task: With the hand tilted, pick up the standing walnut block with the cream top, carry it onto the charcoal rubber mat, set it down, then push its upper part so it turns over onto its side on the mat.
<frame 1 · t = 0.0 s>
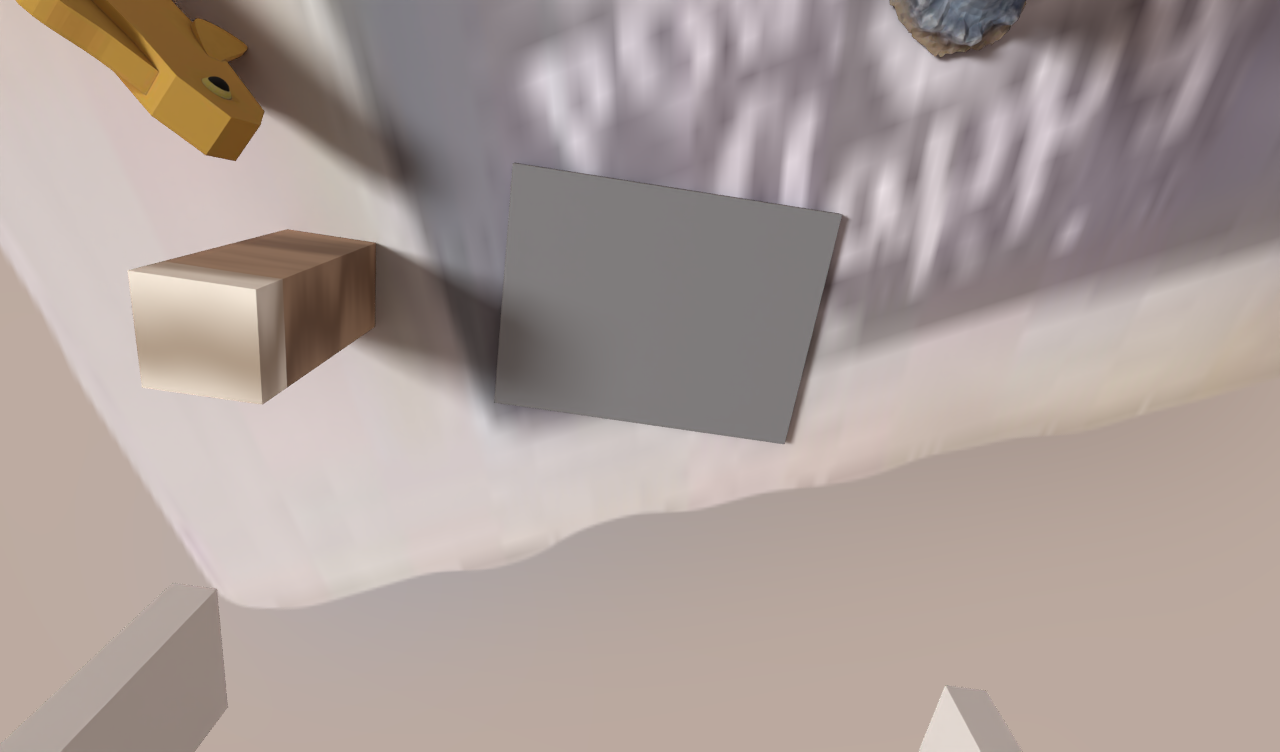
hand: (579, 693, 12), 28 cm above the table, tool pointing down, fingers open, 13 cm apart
charcoal rubber mat: (658, 311, 38), on the table
walnut block: (332, 279, 38), on the table
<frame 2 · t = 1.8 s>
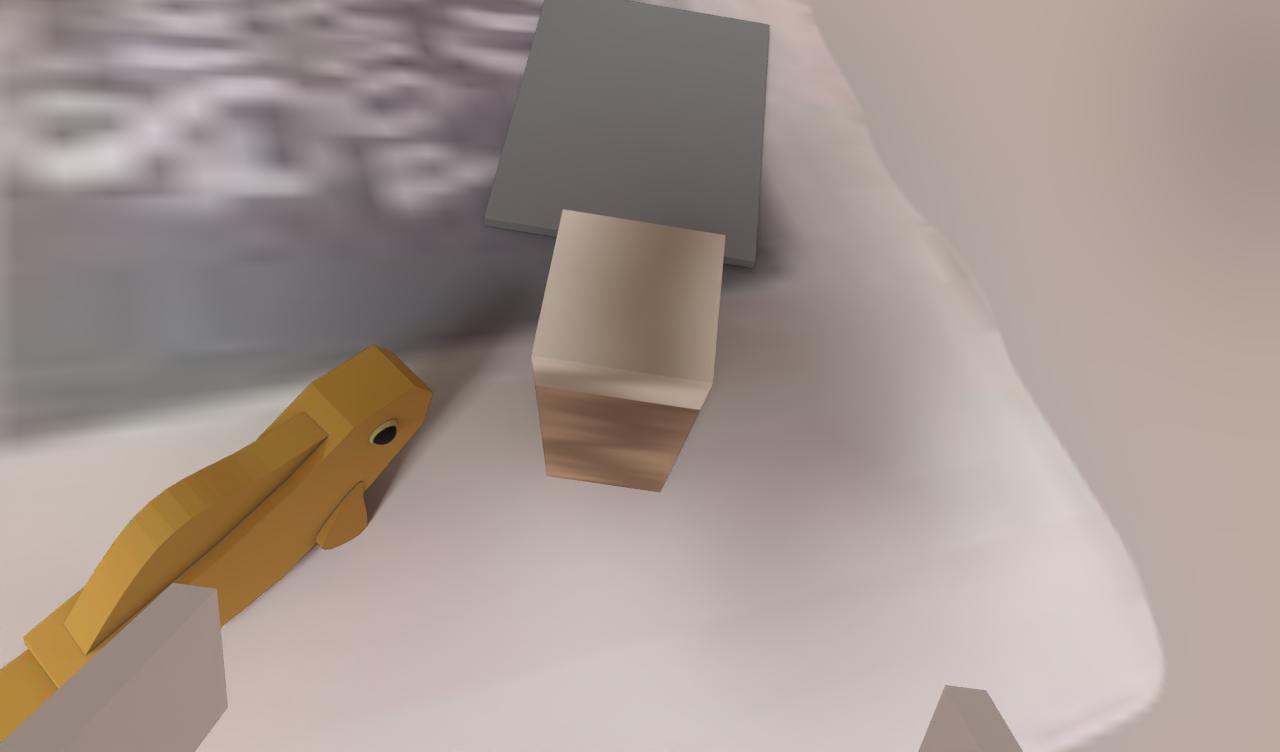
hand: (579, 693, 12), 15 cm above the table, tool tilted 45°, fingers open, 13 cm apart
charcoal rubber mat: (640, 119, 38), on the table
decorative fish: (217, 621, 25), on the table
walnut block: (611, 430, 30), on the table
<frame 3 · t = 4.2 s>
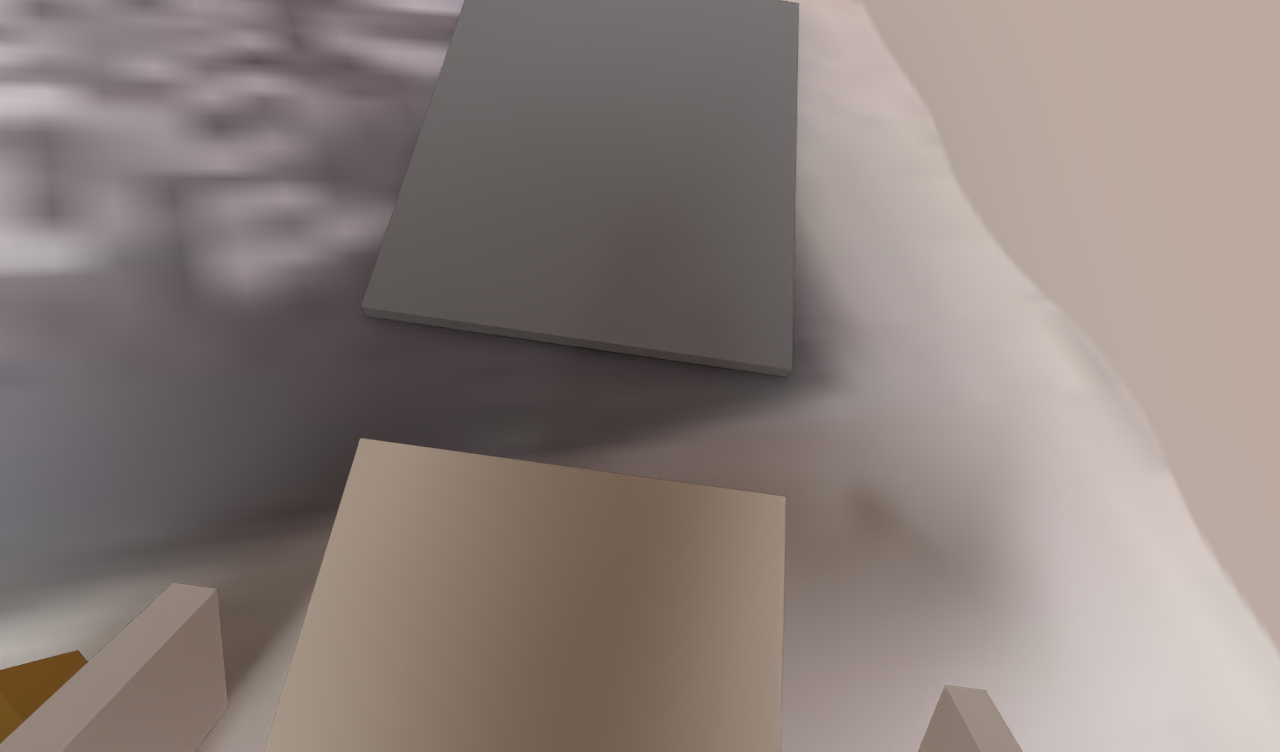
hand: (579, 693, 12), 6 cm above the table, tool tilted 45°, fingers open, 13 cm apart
charcoal rubber mat: (614, 142, 25), on the table
walnut block: (559, 682, 17), on the table
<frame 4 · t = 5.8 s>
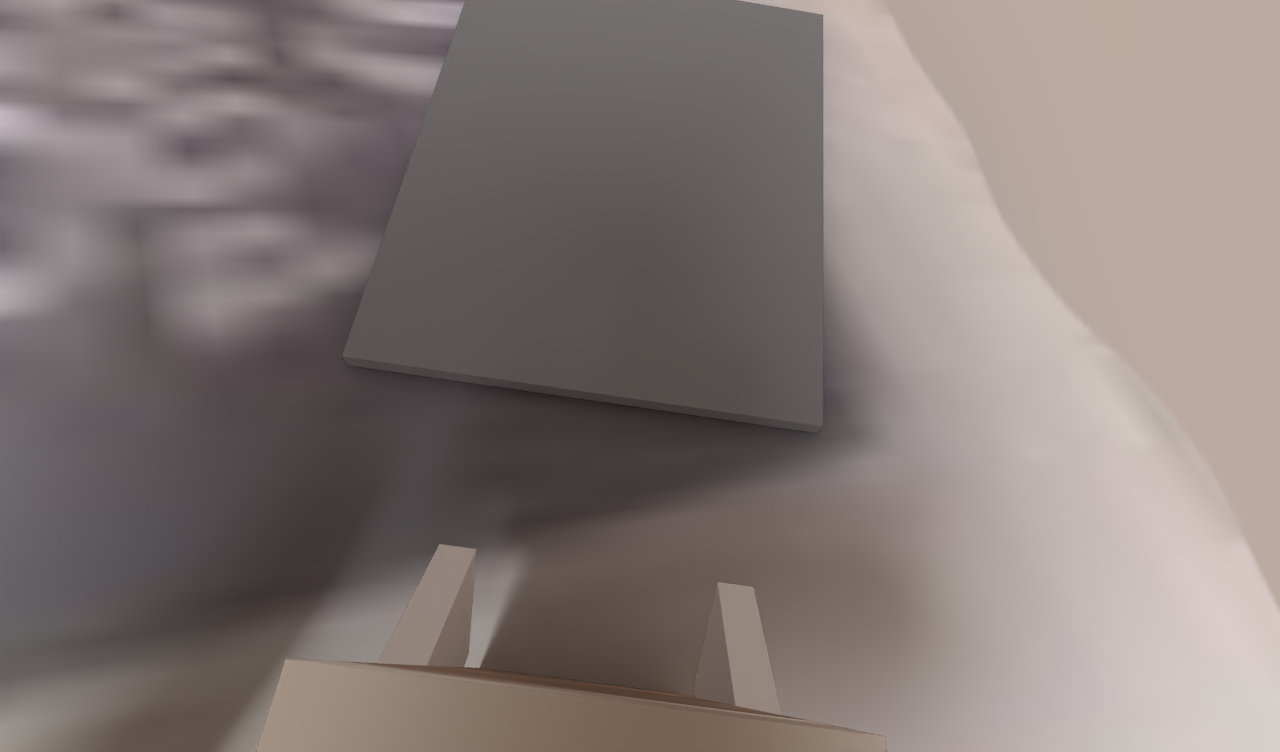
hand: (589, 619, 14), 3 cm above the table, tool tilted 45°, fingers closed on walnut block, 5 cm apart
charcoal rubber mat: (623, 167, 23), on the table
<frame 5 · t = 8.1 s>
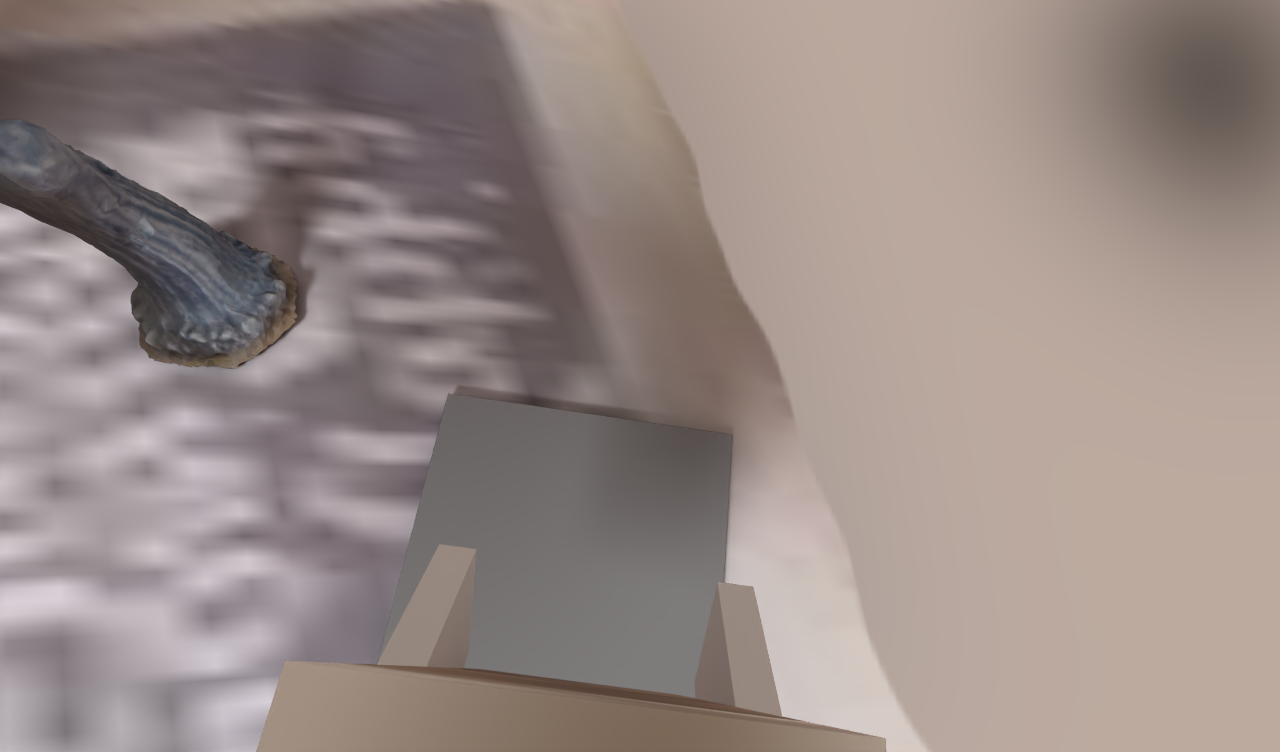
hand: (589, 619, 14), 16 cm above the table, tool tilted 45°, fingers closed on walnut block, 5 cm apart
charcoal rubber mat: (560, 608, 29), on the table
antler: (181, 322, 33), on the table
when the fingers open (5 cm above the table, at t = 10.3 s): walnut block stays where it is, resting on charcoal rubber mat.
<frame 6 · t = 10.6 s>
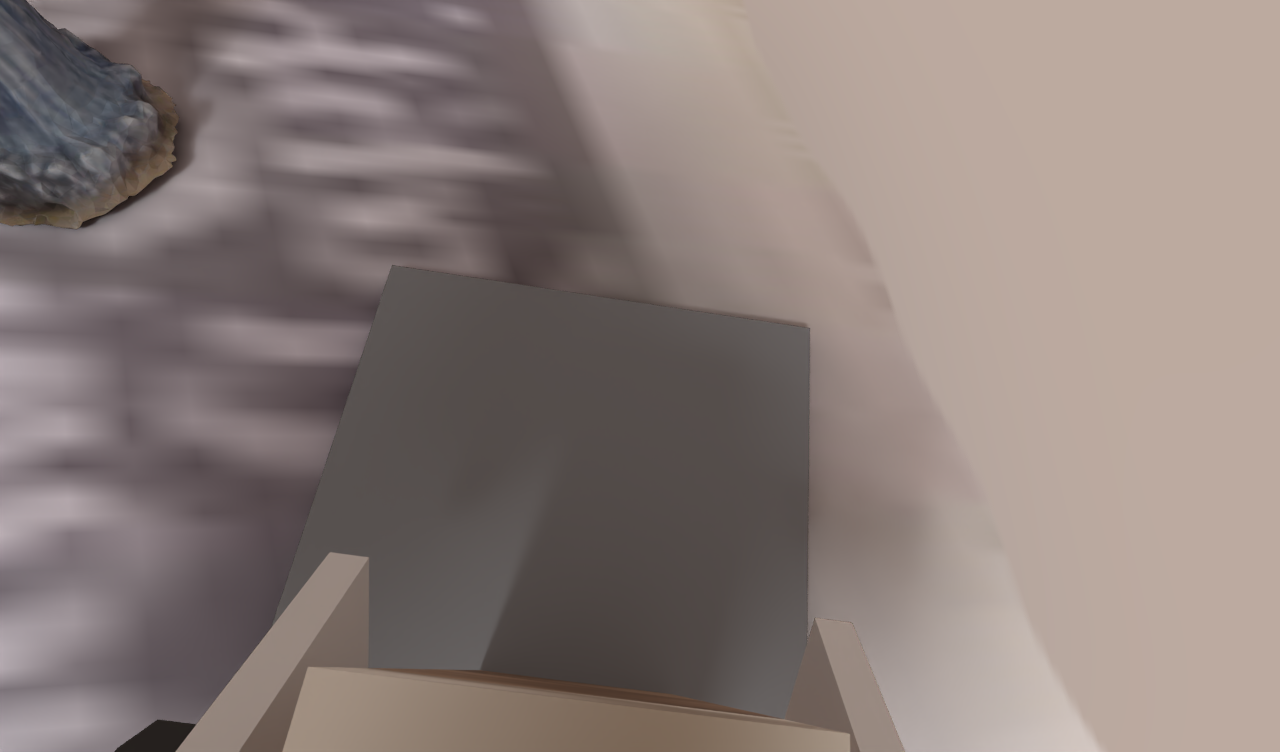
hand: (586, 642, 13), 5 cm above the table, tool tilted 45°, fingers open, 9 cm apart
charcoal rubber mat: (557, 578, 18), on the table
antler: (7, 169, 23), on the table
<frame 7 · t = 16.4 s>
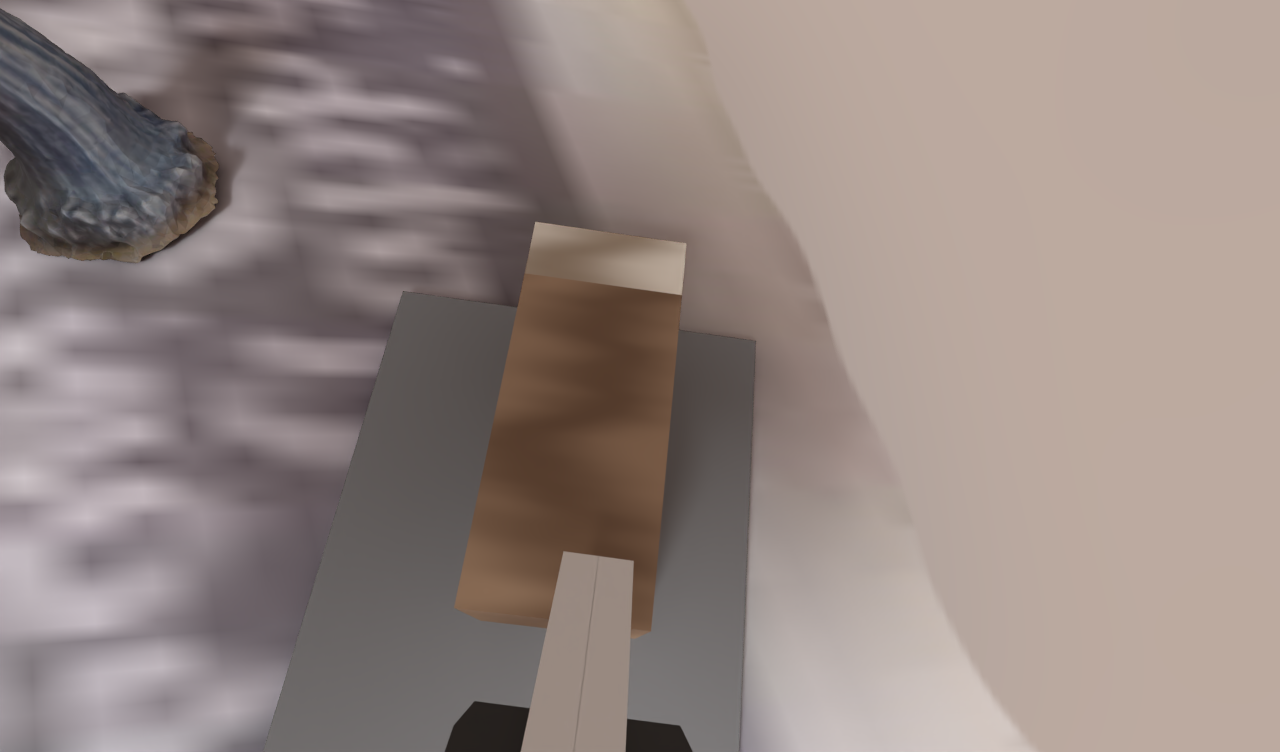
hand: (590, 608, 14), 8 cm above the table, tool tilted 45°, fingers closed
charcoal rubber mat: (542, 550, 23), on the table
antler: (74, 211, 27), on the table
walnut block: (555, 625, 19), point 3 cm above the table, tilted 90°, touching charcoal rubber mat
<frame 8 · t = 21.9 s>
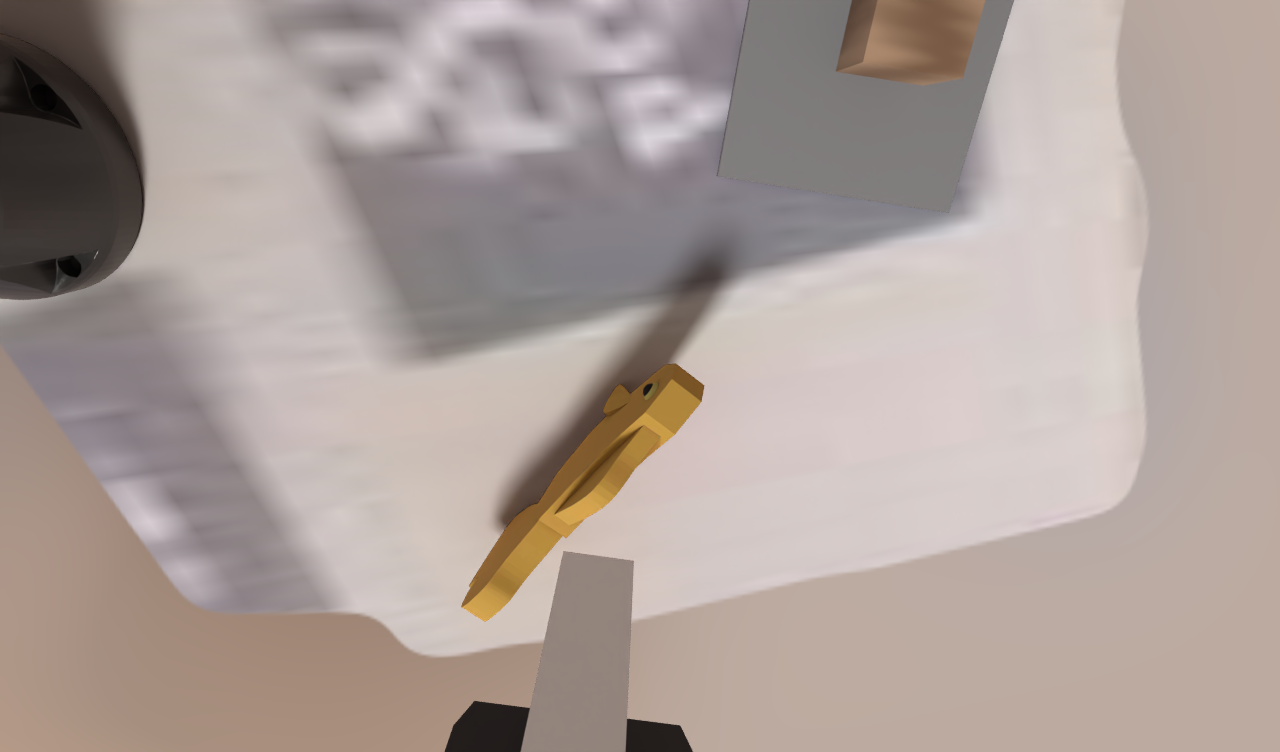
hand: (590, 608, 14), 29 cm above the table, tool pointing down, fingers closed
charcoal rubber mat: (871, 27, 36), on the table
decorative fish: (581, 457, 46), on the table
walnut block: (895, 74, 34), point 3 cm above the table, tilted 90°, touching charcoal rubber mat
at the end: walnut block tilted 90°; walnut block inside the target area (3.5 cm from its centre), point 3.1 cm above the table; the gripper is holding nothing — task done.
